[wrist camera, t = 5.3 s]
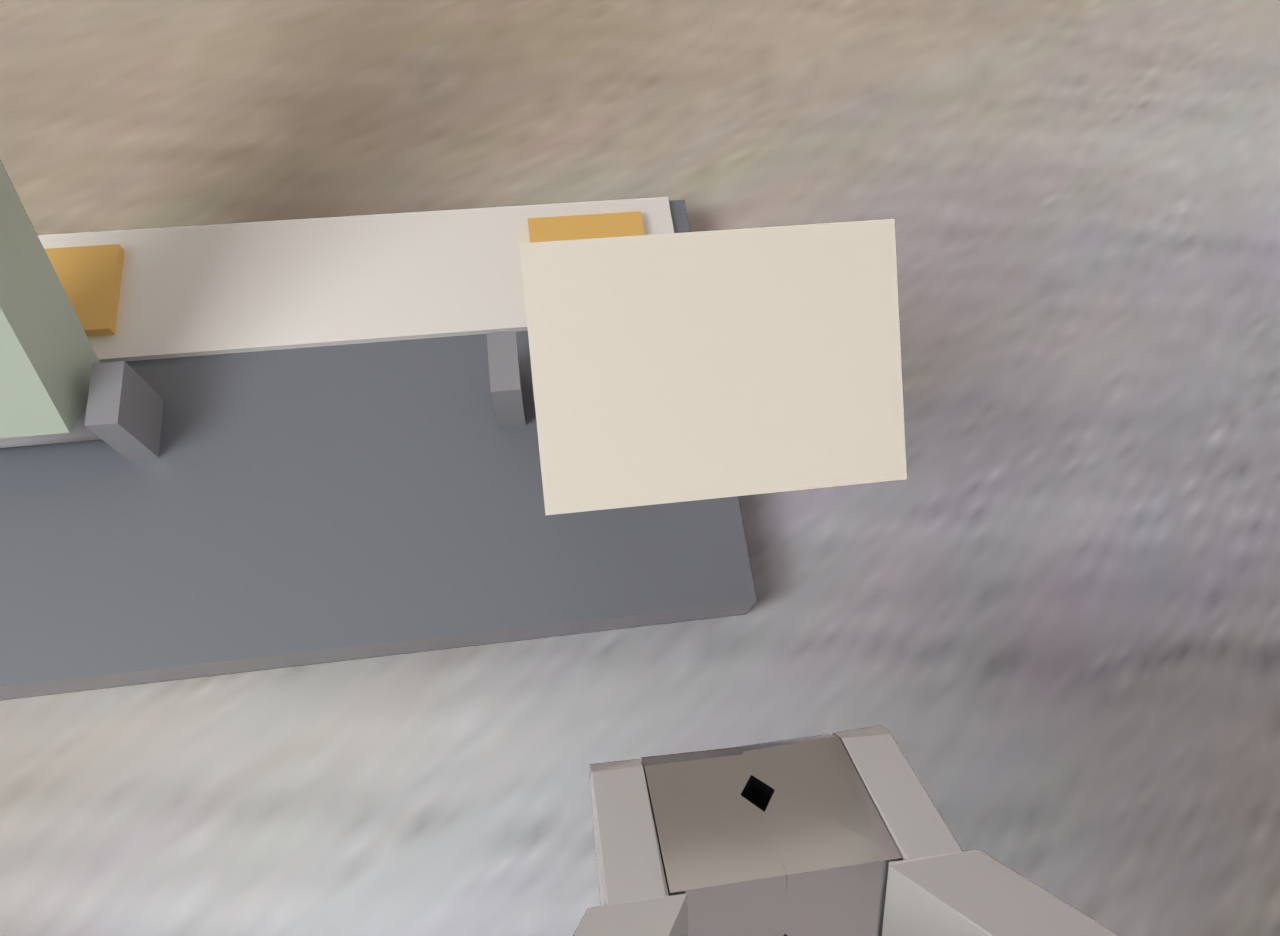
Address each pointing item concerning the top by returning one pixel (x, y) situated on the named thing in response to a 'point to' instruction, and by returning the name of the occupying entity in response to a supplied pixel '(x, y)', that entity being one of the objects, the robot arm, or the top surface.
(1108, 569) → the top surface
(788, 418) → the bar
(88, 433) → the bar
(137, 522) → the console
